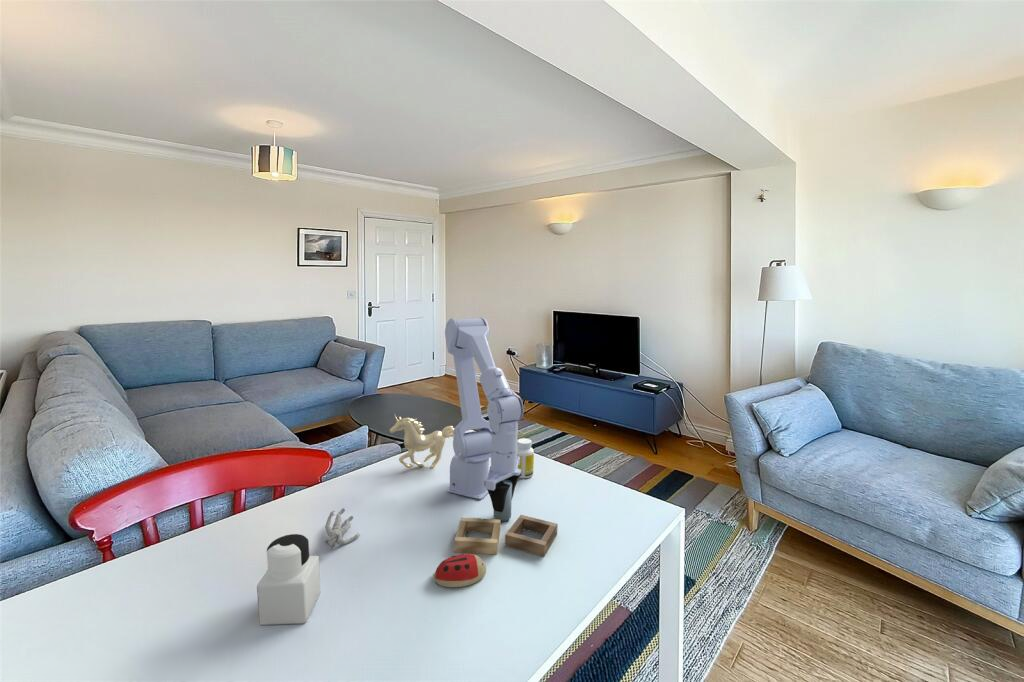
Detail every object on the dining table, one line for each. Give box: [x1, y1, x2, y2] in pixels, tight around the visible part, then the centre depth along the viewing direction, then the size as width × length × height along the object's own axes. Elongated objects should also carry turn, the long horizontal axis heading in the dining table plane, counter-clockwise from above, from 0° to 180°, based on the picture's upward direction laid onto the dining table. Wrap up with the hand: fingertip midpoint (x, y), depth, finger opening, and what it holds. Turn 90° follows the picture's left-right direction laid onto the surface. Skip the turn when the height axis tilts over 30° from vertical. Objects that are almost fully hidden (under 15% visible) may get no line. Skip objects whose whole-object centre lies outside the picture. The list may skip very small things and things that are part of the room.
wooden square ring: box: [504, 514, 558, 558], centre depth 95 cm, size 8×8×2 cm
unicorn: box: [389, 413, 455, 469], centre depth 128 cm, size 20×4×17 cm, turn 121°
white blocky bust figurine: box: [256, 533, 321, 626], centre depth 74 cm, size 7×7×12 cm
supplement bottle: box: [517, 437, 535, 479], centre depth 125 cm, size 5×5×10 cm
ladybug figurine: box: [432, 553, 487, 588], centre depth 84 cm, size 7×10×4 cm
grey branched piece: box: [323, 507, 361, 550], centre depth 94 cm, size 8×5×12 cm
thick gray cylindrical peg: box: [493, 479, 513, 522], centre depth 103 cm, size 4×4×8 cm
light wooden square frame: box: [453, 517, 501, 555], centre depth 95 cm, size 8×8×2 cm
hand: (502, 506), depth 103 cm, fingers closed on thick gray cylindrical peg, 4 cm apart
